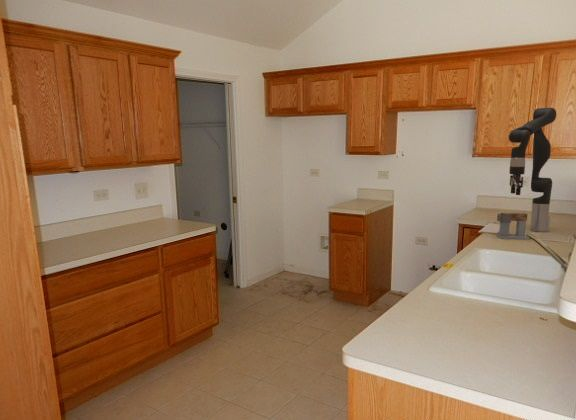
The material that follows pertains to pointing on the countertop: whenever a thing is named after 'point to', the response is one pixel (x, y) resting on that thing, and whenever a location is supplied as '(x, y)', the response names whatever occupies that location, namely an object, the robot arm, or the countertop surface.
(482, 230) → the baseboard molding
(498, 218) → the bracket stand
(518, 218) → the rail
